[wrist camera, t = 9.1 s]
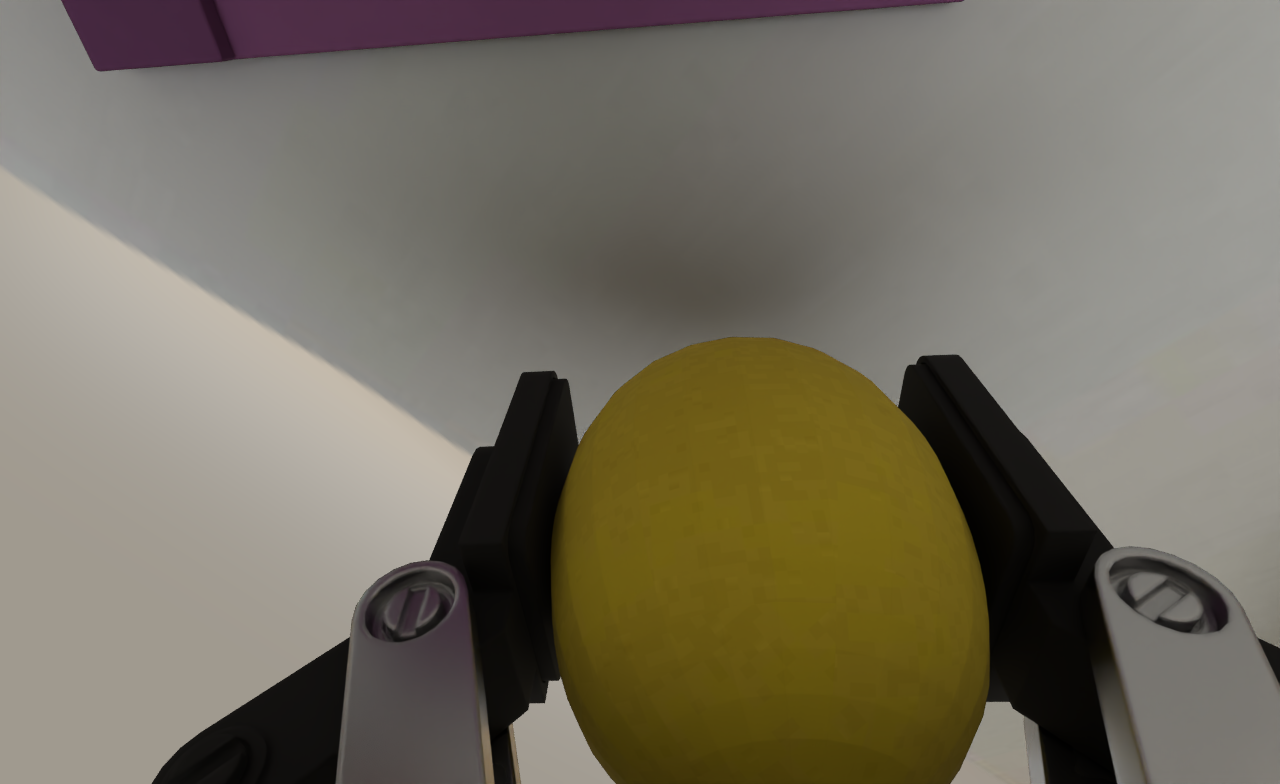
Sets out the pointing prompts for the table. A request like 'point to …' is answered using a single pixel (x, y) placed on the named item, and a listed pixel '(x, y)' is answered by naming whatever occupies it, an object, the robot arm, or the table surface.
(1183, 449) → the table surface
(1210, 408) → the table surface
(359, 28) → the purple notebook
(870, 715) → the lemon
